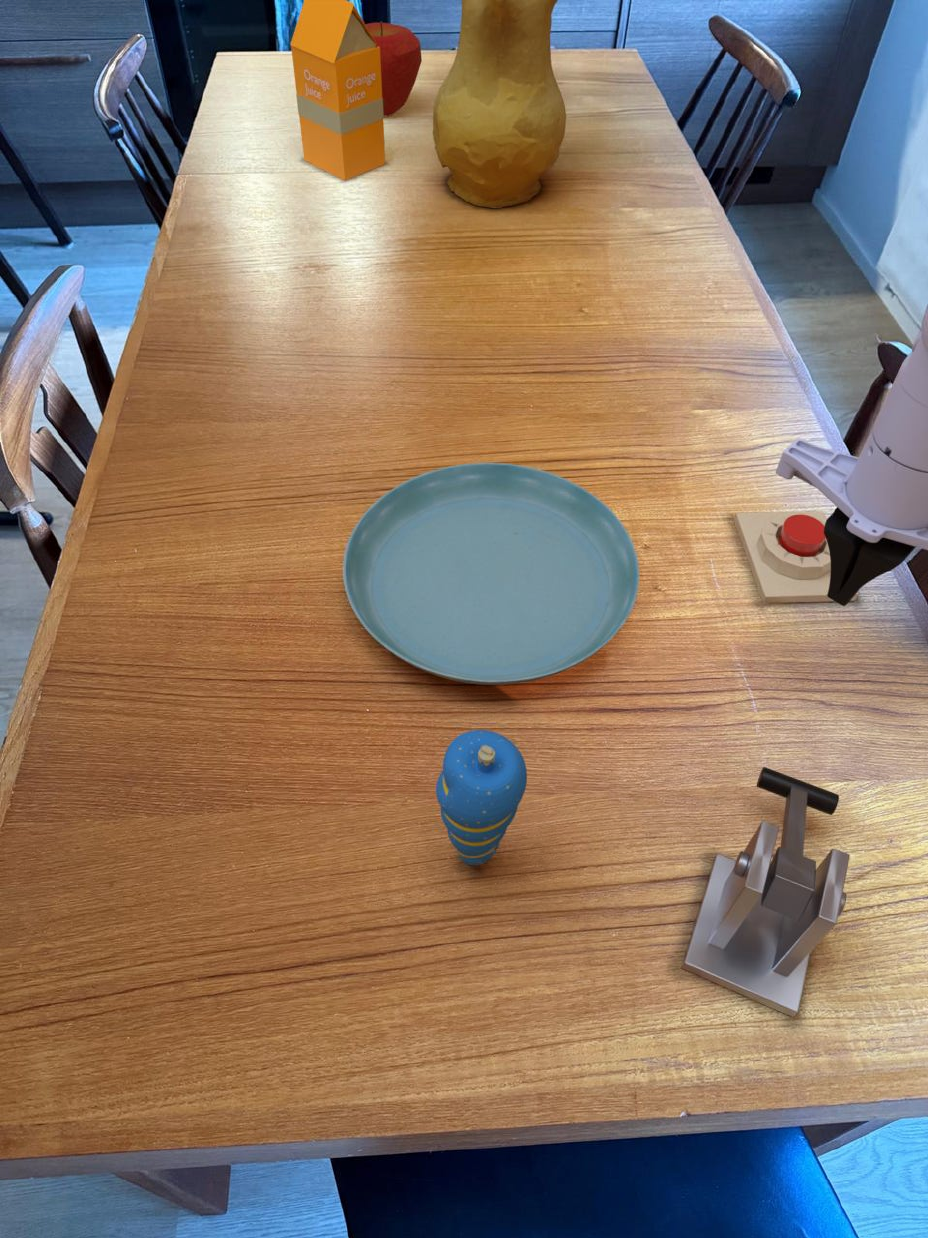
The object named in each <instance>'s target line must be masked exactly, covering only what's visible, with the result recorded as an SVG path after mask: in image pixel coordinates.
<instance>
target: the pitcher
mask: <svg viewBox="0 0 928 1238" xmlns="http://www.w3.org/2000/svg"><path fill="white" fill-rule="evenodd" d="M558 1H559V0H461V19H460V30H459V31H460V32H459V36H458V44H457V49H456V53H455V57H454V60H453V63H452V65H451V67H450V70H449V72H448V74H447V76H446V77H445V78H444V80H443V82H442V83H441V85H440V87H439V89H438V92H437V93H436V97H435V100H434V103H433V111H432V116H433V117H432V138H433V142H434V149H435V152H436V153H435V154H436V155H437V158H438V161H439V163H440V165H441V167H442V168H443V169H445V168H447V167H448V170H449V173H450V174H451V176H449V177H448V180H447V185H448V187H449V189H450V191H451V192H453V193H454V194H455V196H457V197H458V198H461V200H464V201H465V202H466V203H469V204H472V205H475V206H478V207H484V208H489V209H501V208H503V207H504V208H505V207H513V206H515V205H519V204H522V203H526V202H529V201H530V200H531V199H533V198H534V197H535V196H536V195H538V193H540V190H541V188H542V186H541V183H540V177H542V175H544V173H546V172H547V171H549V170H550V169H551V168H552V167H553V166H554V164H555V163H556V161H557V160H558V159H559V157H560V148H561V145H562V143H563V141H564V139H565V134H566V125H567V124H566V123H567V113H566V112H567V111H566V105H565V102H564V97H563V95H562V91H561V89H560V86H559V85H558V82H557V80H556V76H555V74H554V70H553V65H552V49H551V34H552V22H553V21H552V20H553V19H552V16H553V15H552V13H553V11H554V8H555V5H556V4H557V3H558Z"/></svg>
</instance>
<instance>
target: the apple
mask: <svg viewBox="0 0 928 1238" xmlns="http://www.w3.org/2000/svg"><path fill="white" fill-rule="evenodd" d="M365 25H366V27H367V28H368V30H369V32H370V33H371V35H372V37H373V38H374V40H375V42H376V43H377V45H378V46H379V47H380V61H381V82H382V98H383V115H384V117H389V116H393V115H394V114H396V112H398V111H399V110H400V109H401V108H403V107H404V106H405V105H406V103H407V102H408V99H409V97H410V95H411V93H412V90H413V88H414V86H415V83H416V81H417V77H418V74H419V71H420V67H421V66H422V65H421V64H422V62H423V61H422V46H421V42H420V39H419V38H418V37H417V36H416V35H415V33H413V31H412V30H410V28H407V27H405V26H402V25H399V24H393V23H388V22H383V20H381V21H380V22H371V23H365Z"/></svg>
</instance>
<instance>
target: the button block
mask: <svg viewBox="0 0 928 1238" xmlns="http://www.w3.org/2000/svg"><path fill="white" fill-rule="evenodd" d="M798 514H802V515H808V516H811V517H814V518H816V519H817V520H819V521H820V522H821V523H822V524H823V525H824V526H825V523H826V520H827V518H826V516H825V513H824V511H823V510H812V511H811V510H809V511H772V512H771V511H769V512H763V511H762V512H735V515H734V518H733V522H734V525H735V527H736V531H737V533H738V537H739V540H740V543H741V545H742V548H743V551H744V553H745V556H746V560H747V563H748V566H749V568H750V572H751V574H752V577H753V580H754V583H755V586H756V588H757V591H758V594H759V597H760V601H761V602H762V604H786V603H787V604H788V603H818V602H819V603H821V602H822V603H823V602H835V601H834V600H832V599H830V598H829V597H827V594H828V590H829V584H830V574H831V561H830V552H829V547H828V543H827V540H826V539H825V541H824V543H823V545H822V547H821V549H820V551H819V552H818V553H817V554H816V555H813V556H810V557H800V556H797V555H794V554H792V553H789V552H787V551H786V550H785V549H784V548H783V547H782V546H781V545H780V543H779V534H780V531H781V529H782V526H783V524H784V522H785V520H786V519H787V518H788V517H790V516H793V515H798ZM859 594H860V592H859V591H858V592H857V593H856V594H855V595H854V597H853V598H852V599H851V600H850V601H849V602H854V601H856V600H857V598H858V597H859V596H860V595H859Z"/></svg>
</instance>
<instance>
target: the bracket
mask: <svg viewBox="0 0 928 1238" xmlns="http://www.w3.org/2000/svg"><path fill="white" fill-rule="evenodd" d="M779 830H780V826H778V825H776V824H773V823H770V822H769V821H765V820H761V823H760V824H759V825H758V827H757V829H756V831H755V832H754V833H753V835H752V837H751V838H750V840H749V842H748V843H747V845H746V847H745V848H744V850H741V851H739V853H738V855H737V857H736V860H735V859H733V858H730V857H728V856H726V855H723V854H720V853H718V852H717V853H716V854H715V856H714V858H713V860H712V863H711V866H710V870H709V873H708V876H707V879H706V883H705V886H704V890H703V893H702V897H701V900H700V903H699V907H698V910H697V913H696V917H695V920H694V923H693V927H692V930H691V934H690V937H689V941H688V945H687V948H686V950H685V954H684V958H683V960H682V964H681V969H683V970H685V971H687V972H690V973H692V974H695V975H696V976H699V977H701V978H703V979H706V980H708V981H710V982H712V983H714V984H717V985H718V986H721V987H724V988H726V989H728V990H731V992H735V993H737V994H739V995H742V996H744V997H746V998H749V999H751V1000H753V1001H755V1002H758V1003H760V1004H762V1005H764V1006H766V1007H769V1008H771V1009H773V1010H775V1011H777V1012H780V1013H782V1014H784V1015H787V1016H789V1017H791V1018H795V1016H796V1015H797V1014H798V1013H799V1011H800V1005H801V1001H802V997H803V991H804V987H805V983H806V978H807V977H806V976H807V972H808V968H809V963H810V958H811V953H812V951H813V950H814V949H815V948H816V947H817V946H818V945H819V944H820V943H821V942H822V940H823V939H824V938H825V937H826V936H827V935H828V934H829V933H830V932H831V931H832V930H833V928H835V926H836V925H838V919H839V917H840V916H841V915H842V913H843V911H844V908H845V905H846V903H847V893H846V892H844V889H845V882H846V878H847V872H848V867H849V862H850V857H851V856H850V854H849V853H846V852H843V851H841V850H838V849H836V848H831V849H830V851H829V852H828V853H827V855H826V856H825V858H824V859H823V860H822V862H820V863H819V865H818V867H816V873H815V891H814V893H813V895H812V897H811V899H810V901H809V903H808V905H807V907H806V909H805V911H804V913H803V915H802V917H801V919H800V921H796V920H794V919H791V918H789V917H786V916H784V915H782V914H779V913H777V912H774V911H772V910H770V909H767V908H765V907H762V906H761V900H762V894H763V890H764V887H765V883H766V879H767V875H768V871H769V867H770V863H771V861H772V859H773V856H774V855H773V854H774V851H775V847H776V843H777V839H778V835H779Z"/></svg>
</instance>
